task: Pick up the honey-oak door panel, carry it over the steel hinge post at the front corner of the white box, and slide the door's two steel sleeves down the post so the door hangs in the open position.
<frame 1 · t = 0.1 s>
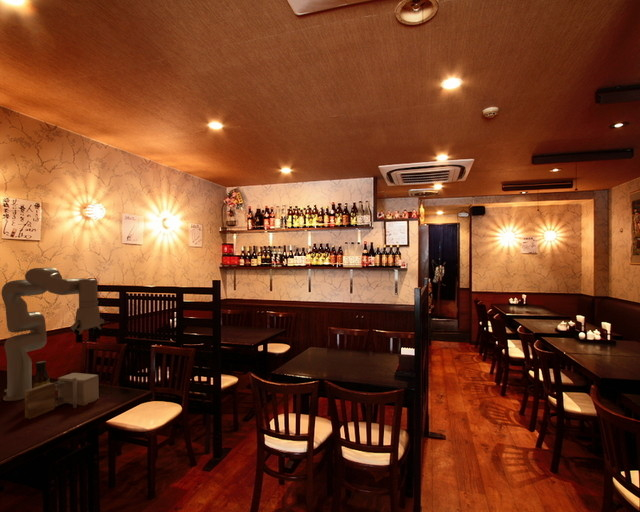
hand: (88, 340, 168), 31 cm above the table, tool pointing down, fingers open, 9 cm apart
door: (40, 413, 160), on the table
sauce bottle: (41, 402, 172), on the table
white box: (78, 400, 174), on the table
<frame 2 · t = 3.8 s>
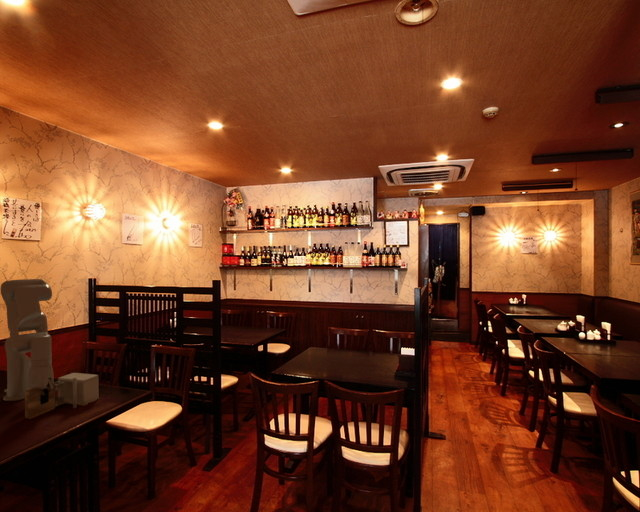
hand: (41, 402, 160), 5 cm above the table, tool pointing down, fingers closed on door, 3 cm apart
door: (40, 413, 160), on the table, touching gripper
everything else where it was.
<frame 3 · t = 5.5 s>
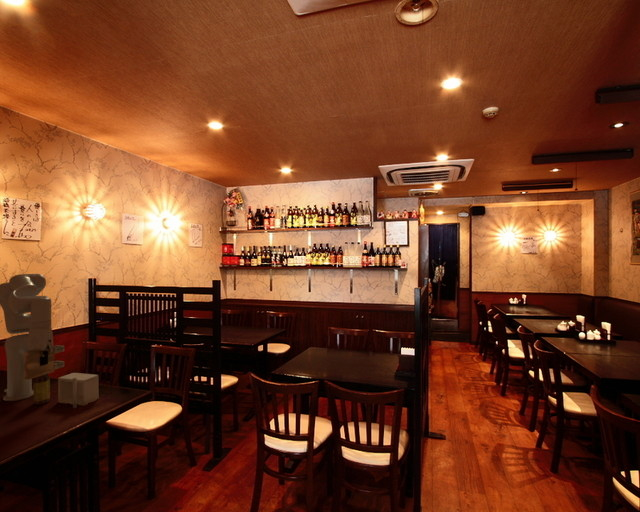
hand: (40, 364, 161), 22 cm above the table, tool pointing down, fingers closed on door, 3 cm apart
door: (39, 374, 160), point 17 cm above the table, touching gripper
everything else where it was.
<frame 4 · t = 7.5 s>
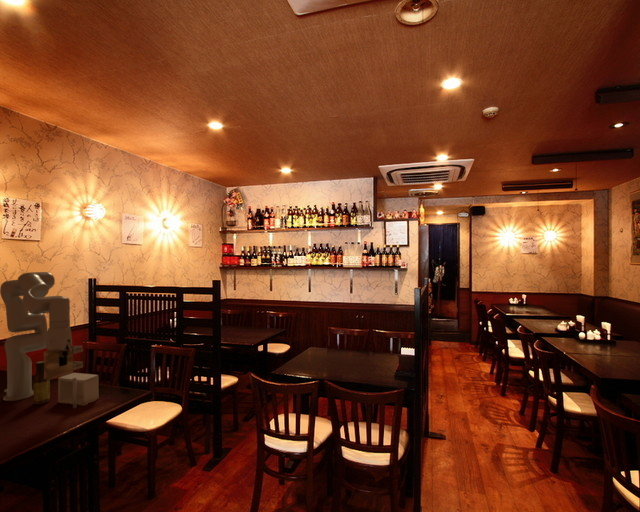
hand: (60, 364, 158), 22 cm above the table, tool pointing down, fingers closed on door, 3 cm apart
door: (59, 375, 158), point 18 cm above the table, touching gripper
everything else where it was.
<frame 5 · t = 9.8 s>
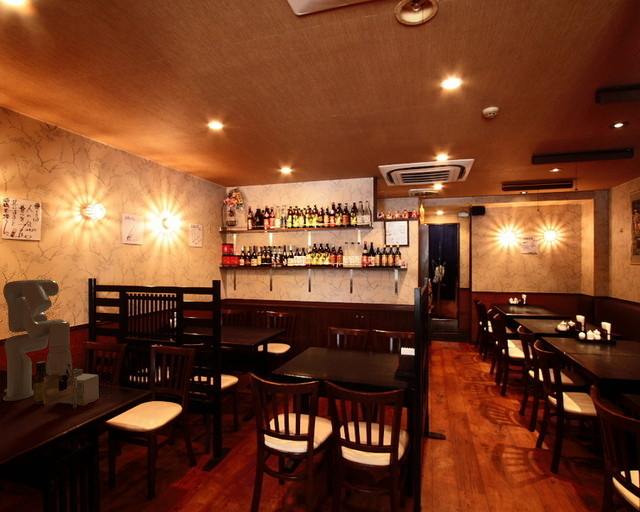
hand: (59, 389, 158), 11 cm above the table, tool pointing down, fingers closed on door, 3 cm apart
door: (58, 400, 158), point 7 cm above the table, touching gripper
everything else where it was.
when the fingers open (5 cm above the table, at t = 11.5 s): door stays where it is, on the table.
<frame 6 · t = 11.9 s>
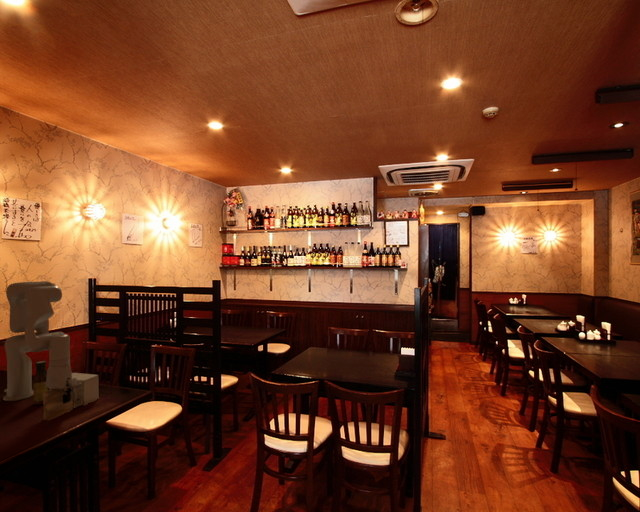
hand: (59, 401, 158), 6 cm above the table, tool pointing down, fingers open, 7 cm apart
door: (58, 414, 158), on the table
everything else where it was.
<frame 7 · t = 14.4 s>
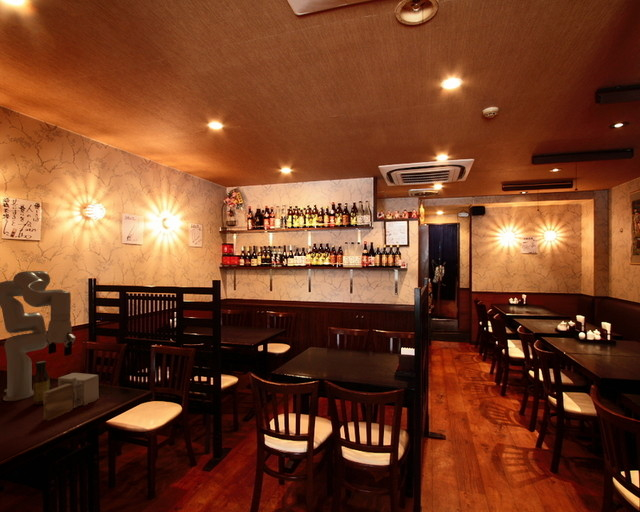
hand: (60, 354, 164), 26 cm above the table, tool pointing down, fingers open, 9 cm apart
nothing on the table moved.
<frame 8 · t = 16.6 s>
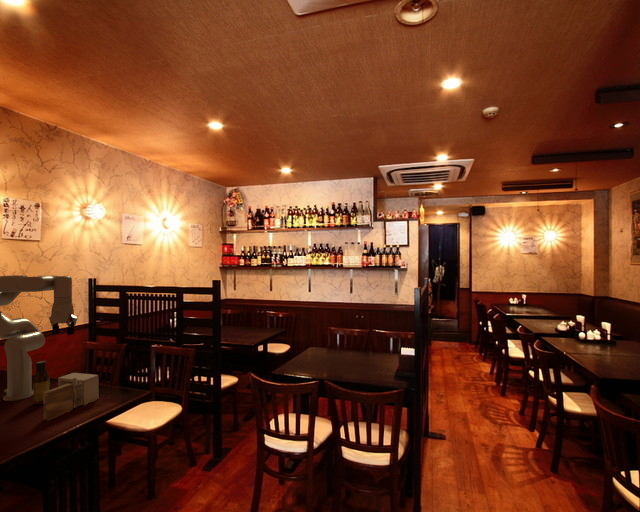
hand: (63, 334, 178), 32 cm above the table, tool pointing down, fingers open, 9 cm apart
nothing on the table moved.
at the end: door 0.2 cm from the target spot, on the table; door tilted 0°; the gripper is holding nothing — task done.
